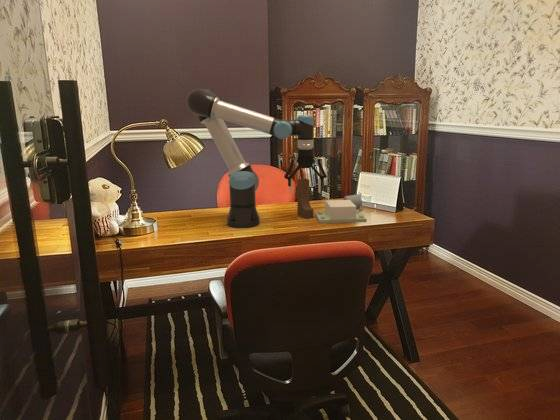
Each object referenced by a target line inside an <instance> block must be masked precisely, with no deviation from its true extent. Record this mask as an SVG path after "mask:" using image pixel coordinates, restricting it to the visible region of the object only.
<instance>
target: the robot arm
mask: <svg viewBox="0 0 560 420" xmlns="http://www.w3.org/2000/svg"><path fill="white" fill-rule="evenodd" d="M186 107H187V109H188V111H189V112H190V113H192V114H193V115H195V116H196V117H197V119H198V121H199V122H200V123H201V124H203V125H205V127H206V130H207V131H208V133H209V134H210V136H211V138H212V140H213V142H214V144H215V146H216V147H217V149H218V151H219V153H220V156H221V157H222V159H223V161H224V163H225V165H226V167H227V169H228V174H227V176H228V177H229V178H228V184H229V185H228V186H229V211H228V213H227V214H228V215H227V218H226V225H227V226H229V227H232V228H237V229H241V228H242V229H245V228H252V227H257V226H258V225H260V223H261V222H260V221H261V220H260V216H259V213H258V210H257V205H256V202H257V201H256V191H257V190H258V188H259V185H260V179H259V176H258V174H257V173H256V171H254V170H253V168H252V166H251V164H250V163H249V162H246V161H245V159H244V157H243V155H242V153H241V152H240V149H239V148H238V146H237V144H236V141H235V139H234V137H233V136H232V134H231V132H230V130H229V129H228V126H227V124H226V122H230V123H232V124H235V125H238V126H242V127H246V128H248V129H252V130H255V131H258V132H261V133H264V134H268V135H270V136H274V137H276V138H278V139H280V140H286V139H288V138H289V137H297V148H298V149H297V158H296V159H294V158H291V159H290V163H289V166H288V168H287V170H286V172H285V174H284V176H283V177H284V179H285V180H287V187H289V188H290V194H293V178H294V176H295V175H296V174H297V172H298V171H299V170H301V169H312V170H313V172H314V173H315V174H316V176H318V177H319V178H317V179H318V182H317V189H318V190H317V192H318V193H319V194H321V193H322V192H321V190H322V186H324V179H326V178H327V176H328V175H327V174H326V172H325V169H324V168H323V165H322V164H321V159H320V158H319V157H317V158H315V157H314V152H315V151H314V149H313V148H314V143H315V140H314V139H315V138H314V136H315V134H314V133H315V125H314V124H315V122H314V116H313V115H312V114H301V115H297V119H279V118H277V117H276V118H275V117H273V116H270V115H266V114H264V113H260V112H257V111H254V110H250V109H249V108H245V107H242V106H239V105H235V104H233V103H230V102H226V101H222V100H220V98H219V97H218V96H217V95H216V94H215V93H214V92H213V91H212V90H210V89H206V88H196V89H194V90H191V91H190V92H189V93H188V95H187V97H186ZM296 163H297V166H296V167H295V169H294V170H292V169H293V167H294V165H295V164H296ZM314 163H316V164H317V166H318V168H319V170H320V172H321V173H322V174H321V173H320V172H319V171H318V170H317V168H315V166H314V165H313V164H314ZM291 171H292V172H291Z"/></svg>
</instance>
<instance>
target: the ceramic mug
mask: <svg viewBox="0 0 560 420" xmlns="http://www.w3.org/2000/svg"><path fill="white" fill-rule="evenodd" d="M342 200H350V201H351V202H352V203H353V204H354V205H355V206H356V210H359V212H360V213H361V209H362V206H363V200H362V197H361V195H360V194H353V195H352V194H351V195H345V196H344V197H343V199H342Z"/></svg>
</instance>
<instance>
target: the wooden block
mask: <svg viewBox="0 0 560 420" xmlns="http://www.w3.org/2000/svg"><path fill="white" fill-rule="evenodd" d="M296 182H297V185H296V186H297V190H296V191H297V193H296V194H297V204H296V205H297V215H298V216H299V217H301V218H304V219H305V220H307V219H313V218H314V208H313V207H312V206H311V204H310V179H308V178H305V177H304V178H298V179H297V181H296Z"/></svg>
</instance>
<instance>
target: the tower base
mask: <svg viewBox="0 0 560 420" xmlns="http://www.w3.org/2000/svg"><path fill="white" fill-rule="evenodd" d="M324 204H325V207H324V208H325V210H324V212H323V210H317V212H314V217H315V218H316V219H317V222H318V224H340V223H343V224H344V223H367V222H368V221H367V220H368V219H367V218H366V216H365V215H364V214H362V212H361V211H360V212H359V209H356V206H355V205H354V204H353V203H352V202H351V201H350V200H343V199H331V200H330V199H329V200H328V199H327V200H325V203H324Z"/></svg>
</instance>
